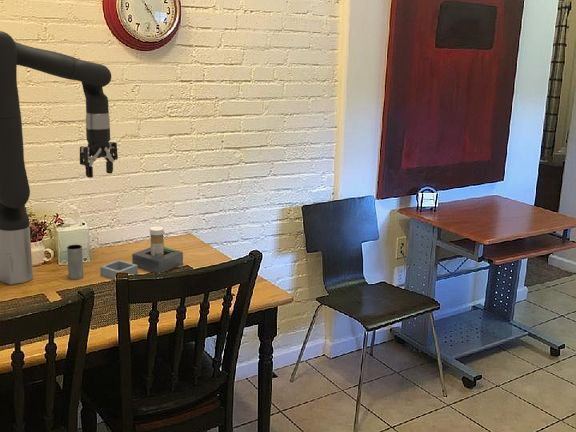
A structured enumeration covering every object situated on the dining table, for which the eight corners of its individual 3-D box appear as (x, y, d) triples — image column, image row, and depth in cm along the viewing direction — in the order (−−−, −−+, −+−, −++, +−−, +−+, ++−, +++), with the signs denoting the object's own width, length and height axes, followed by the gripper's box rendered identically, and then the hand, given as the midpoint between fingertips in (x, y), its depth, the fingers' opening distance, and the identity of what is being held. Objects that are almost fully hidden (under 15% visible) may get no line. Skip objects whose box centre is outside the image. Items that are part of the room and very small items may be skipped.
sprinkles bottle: (165, 263, 222) (164, 226, 218) (163, 268, 217) (162, 230, 214) (151, 263, 221) (151, 225, 218) (149, 267, 217) (148, 229, 213)
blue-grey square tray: (119, 281, 204) (118, 272, 204) (100, 275, 208) (100, 266, 208) (137, 273, 211) (137, 265, 210) (119, 268, 215) (119, 259, 215)
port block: (159, 274, 212) (158, 260, 210) (132, 266, 217) (132, 253, 216) (182, 264, 222) (183, 251, 220) (156, 257, 227) (156, 244, 226)
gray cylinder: (79, 273, 209) (77, 243, 206) (86, 277, 206) (84, 247, 203) (66, 276, 206) (64, 246, 203) (72, 280, 203) (71, 250, 200)
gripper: (106, 123, 217) (107, 170, 221) (72, 127, 205) (74, 177, 209) (122, 125, 213) (123, 173, 218) (89, 130, 201) (91, 180, 206)
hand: (99, 175), depth 214 cm, fingers open, 8 cm apart
